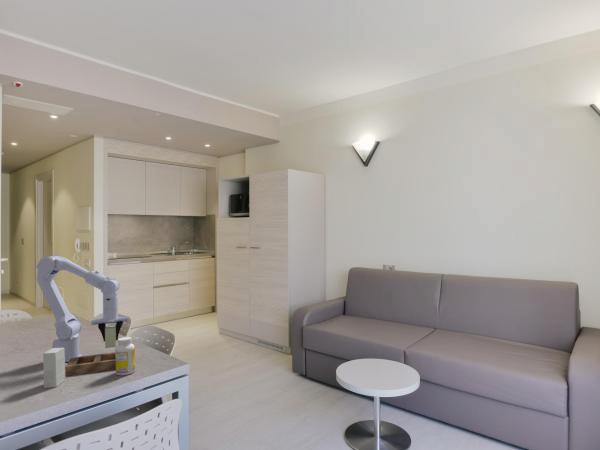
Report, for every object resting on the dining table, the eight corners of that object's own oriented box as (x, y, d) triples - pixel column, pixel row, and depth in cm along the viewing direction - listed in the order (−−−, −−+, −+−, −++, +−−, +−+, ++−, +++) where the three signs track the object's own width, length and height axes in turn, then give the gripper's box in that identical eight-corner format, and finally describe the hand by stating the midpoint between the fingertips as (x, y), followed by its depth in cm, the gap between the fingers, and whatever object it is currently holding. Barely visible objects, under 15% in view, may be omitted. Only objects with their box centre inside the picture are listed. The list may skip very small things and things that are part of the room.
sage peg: (105, 348, 159) (105, 328, 159) (106, 345, 163) (105, 326, 163) (115, 346, 161) (115, 327, 161) (116, 344, 164) (116, 325, 164)
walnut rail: (65, 375, 141) (65, 366, 141) (70, 366, 151) (70, 357, 151) (124, 367, 149) (124, 359, 149) (126, 358, 159) (126, 350, 159)
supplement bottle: (129, 368, 148) (129, 334, 148) (138, 371, 144) (138, 337, 144) (112, 373, 143) (111, 339, 143) (120, 377, 139) (120, 342, 139)
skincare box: (53, 381, 136) (52, 347, 136) (65, 380, 137) (65, 347, 137) (43, 388, 130) (42, 353, 130) (56, 387, 131) (55, 352, 131)
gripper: (89, 311, 155) (90, 345, 155) (128, 308, 161) (129, 340, 161) (92, 308, 162) (92, 340, 162) (129, 305, 167) (129, 336, 167)
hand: (110, 340), depth 162 cm, fingers closed on sage peg, 4 cm apart
